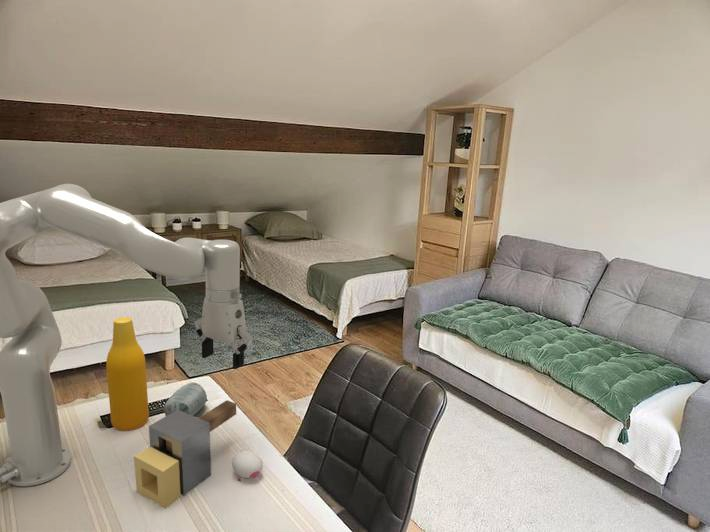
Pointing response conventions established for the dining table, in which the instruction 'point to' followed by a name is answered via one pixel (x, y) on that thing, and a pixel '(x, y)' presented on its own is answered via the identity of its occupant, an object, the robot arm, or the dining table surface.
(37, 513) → the dining table surface
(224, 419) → the shaft
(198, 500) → the dining table surface
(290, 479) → the dining table surface
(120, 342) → the beer bottle
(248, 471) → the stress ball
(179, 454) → the block
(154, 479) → the block
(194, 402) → the spool
